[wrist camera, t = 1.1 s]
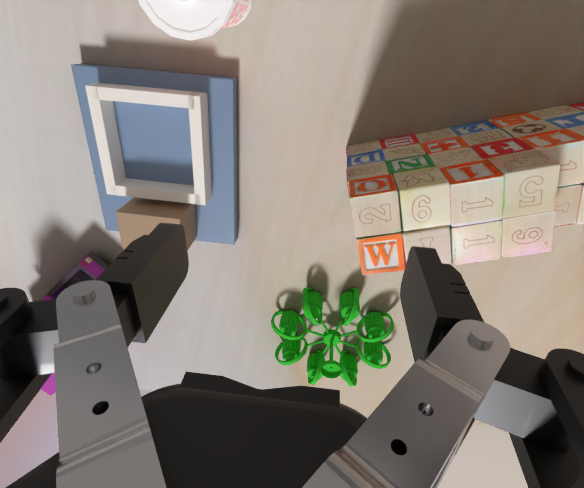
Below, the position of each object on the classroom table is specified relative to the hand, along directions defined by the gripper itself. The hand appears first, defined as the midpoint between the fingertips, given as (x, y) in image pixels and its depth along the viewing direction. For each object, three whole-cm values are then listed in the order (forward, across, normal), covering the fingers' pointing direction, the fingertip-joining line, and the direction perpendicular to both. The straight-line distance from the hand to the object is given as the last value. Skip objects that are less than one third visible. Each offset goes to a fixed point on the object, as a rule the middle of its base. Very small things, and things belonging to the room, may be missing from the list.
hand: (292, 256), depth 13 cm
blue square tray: (+23, +15, +5) cm, 28 cm away
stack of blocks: (+23, -14, +3) cm, 27 cm away
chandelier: (+23, -4, +25) cm, 34 cm away
